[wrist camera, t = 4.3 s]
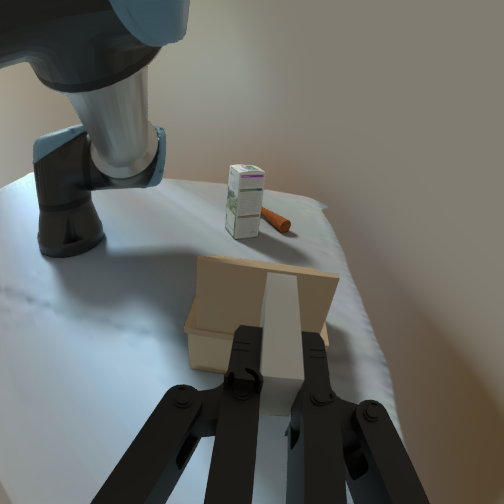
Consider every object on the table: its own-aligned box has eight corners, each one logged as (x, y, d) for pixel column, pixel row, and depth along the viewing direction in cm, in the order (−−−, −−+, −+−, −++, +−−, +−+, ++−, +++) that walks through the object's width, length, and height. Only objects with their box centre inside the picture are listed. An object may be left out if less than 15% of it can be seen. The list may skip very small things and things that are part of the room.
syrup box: (258, 237, 63) (267, 171, 56) (233, 239, 60) (239, 171, 53) (248, 225, 67) (255, 164, 60) (223, 228, 65) (229, 164, 58)
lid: (183, 332, 28) (181, 258, 24) (211, 259, 41) (214, 199, 37) (327, 351, 28) (354, 281, 24) (314, 273, 41) (328, 215, 36)
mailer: (189, 368, 32) (187, 333, 29) (211, 296, 44) (212, 262, 41) (309, 383, 31) (323, 350, 28) (303, 308, 44) (312, 275, 41)
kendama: (275, 219, 62) (227, 185, 75) (274, 241, 66) (228, 205, 79) (296, 211, 65) (246, 179, 78) (293, 233, 69) (246, 198, 82)
